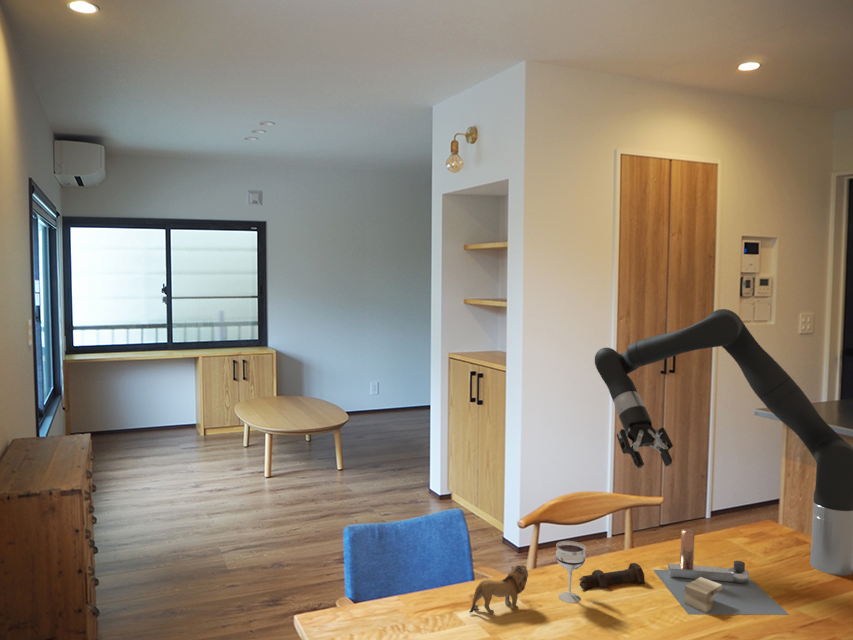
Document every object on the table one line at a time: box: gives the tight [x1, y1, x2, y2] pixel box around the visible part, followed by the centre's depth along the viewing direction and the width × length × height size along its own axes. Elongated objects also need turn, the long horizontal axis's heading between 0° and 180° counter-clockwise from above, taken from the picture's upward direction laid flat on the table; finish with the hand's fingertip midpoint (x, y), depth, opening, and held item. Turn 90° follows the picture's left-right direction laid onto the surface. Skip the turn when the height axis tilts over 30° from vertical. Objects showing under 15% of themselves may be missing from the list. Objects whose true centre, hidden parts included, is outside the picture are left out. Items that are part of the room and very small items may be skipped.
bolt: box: [578, 562, 646, 591], centre depth 161 cm, size 6×5×15 cm
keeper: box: [684, 577, 722, 612], centre depth 151 cm, size 7×5×4 cm
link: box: [667, 528, 750, 584], centre depth 163 cm, size 18×4×11 cm, turn 81°
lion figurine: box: [469, 562, 529, 615], centre depth 150 cm, size 15×5×9 cm, turn 117°
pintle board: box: [653, 560, 790, 616], centre depth 157 cm, size 22×22×6 cm
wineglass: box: [555, 540, 587, 604], centre depth 155 cm, size 7×7×12 cm
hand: (655, 465), depth 175 cm, fingers open, 8 cm apart
